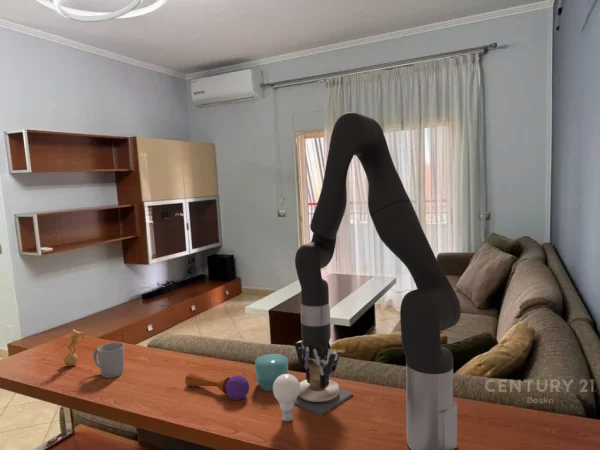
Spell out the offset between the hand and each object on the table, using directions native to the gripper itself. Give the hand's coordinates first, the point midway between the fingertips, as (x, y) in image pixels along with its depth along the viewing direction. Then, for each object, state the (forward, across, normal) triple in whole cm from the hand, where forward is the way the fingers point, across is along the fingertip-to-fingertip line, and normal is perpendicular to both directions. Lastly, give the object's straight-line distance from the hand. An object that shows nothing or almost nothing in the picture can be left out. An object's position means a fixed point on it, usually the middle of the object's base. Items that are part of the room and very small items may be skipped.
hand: (317, 384), depth 109 cm
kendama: (+4, +22, +16) cm, 28 cm away
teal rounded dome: (+3, +14, +3) cm, 15 cm away
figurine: (+4, +72, +35) cm, 80 cm away
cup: (+4, +57, +30) cm, 65 cm away
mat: (+3, 0, 0) cm, 3 cm away
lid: (+2, 0, 0) cm, 2 cm away
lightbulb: (+4, -2, +13) cm, 14 cm away
